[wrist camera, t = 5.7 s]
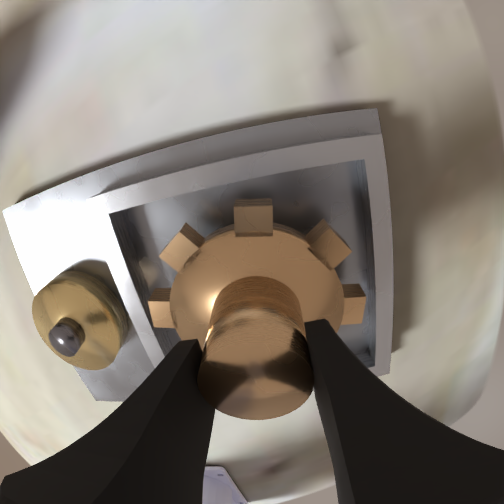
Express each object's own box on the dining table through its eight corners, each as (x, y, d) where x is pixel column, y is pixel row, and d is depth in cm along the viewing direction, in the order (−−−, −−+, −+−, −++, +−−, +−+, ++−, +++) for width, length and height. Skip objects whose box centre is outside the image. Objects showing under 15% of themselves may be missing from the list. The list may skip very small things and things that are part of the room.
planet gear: (344, 368, 14) (365, 446, 10) (174, 371, 14) (152, 448, 10) (367, 197, 10) (427, 248, 6) (141, 204, 11) (79, 256, 7)
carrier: (384, 357, 16) (403, 401, 13) (101, 390, 18) (82, 428, 15) (368, 109, 11) (404, 104, 8) (13, 205, 13) (-30, 226, 10)
